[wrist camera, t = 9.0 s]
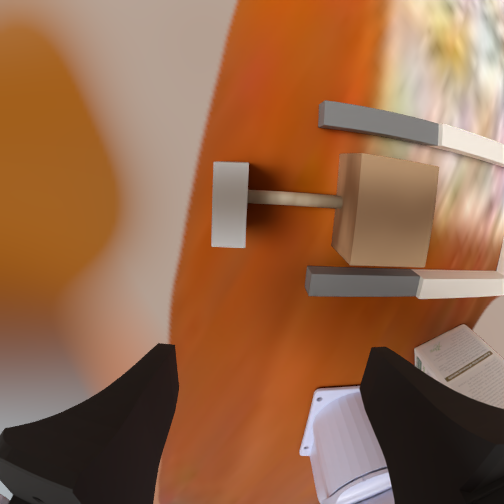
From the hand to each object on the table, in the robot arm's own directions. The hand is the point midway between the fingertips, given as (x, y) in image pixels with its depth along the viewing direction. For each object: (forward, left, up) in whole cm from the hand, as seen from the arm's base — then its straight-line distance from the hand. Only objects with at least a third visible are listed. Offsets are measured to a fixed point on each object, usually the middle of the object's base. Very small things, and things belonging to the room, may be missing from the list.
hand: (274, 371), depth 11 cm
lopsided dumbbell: (+5, -3, -10) cm, 12 cm away
